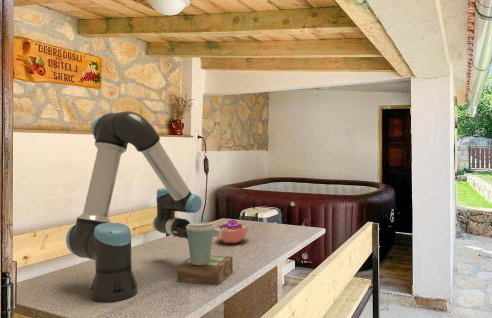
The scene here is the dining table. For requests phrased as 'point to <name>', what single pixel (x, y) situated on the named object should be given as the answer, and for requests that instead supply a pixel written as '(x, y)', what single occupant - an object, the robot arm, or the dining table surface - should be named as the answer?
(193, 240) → the disposable coffee cup
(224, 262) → the walnut stand
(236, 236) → the cell model
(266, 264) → the dining table surface
